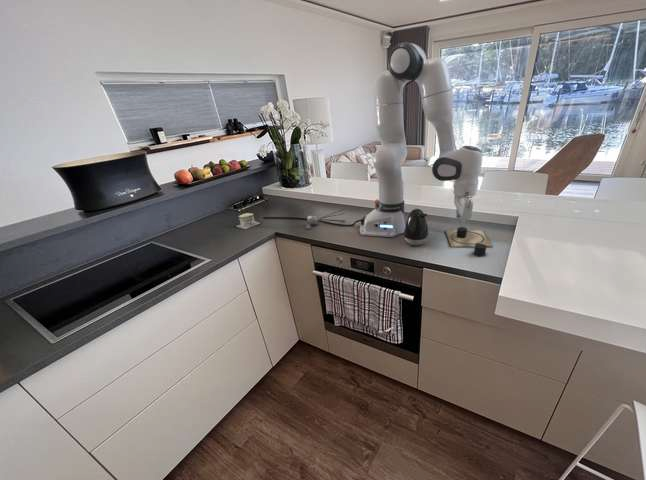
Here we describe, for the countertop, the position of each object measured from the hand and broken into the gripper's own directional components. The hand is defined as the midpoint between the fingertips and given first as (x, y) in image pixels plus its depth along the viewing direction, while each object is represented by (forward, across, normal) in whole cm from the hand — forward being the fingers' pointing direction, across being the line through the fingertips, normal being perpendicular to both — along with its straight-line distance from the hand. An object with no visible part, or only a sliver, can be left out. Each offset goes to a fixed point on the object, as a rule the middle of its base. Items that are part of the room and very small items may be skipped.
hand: (460, 221), depth 122 cm
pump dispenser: (+8, -6, +18) cm, 21 cm away
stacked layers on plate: (+11, +17, +107) cm, 109 cm away
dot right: (+7, -16, -6) cm, 18 cm away
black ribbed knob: (+7, 0, -1) cm, 7 cm away
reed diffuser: (+10, +16, +63) cm, 66 cm away
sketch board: (+7, -2, -4) cm, 8 cm away
